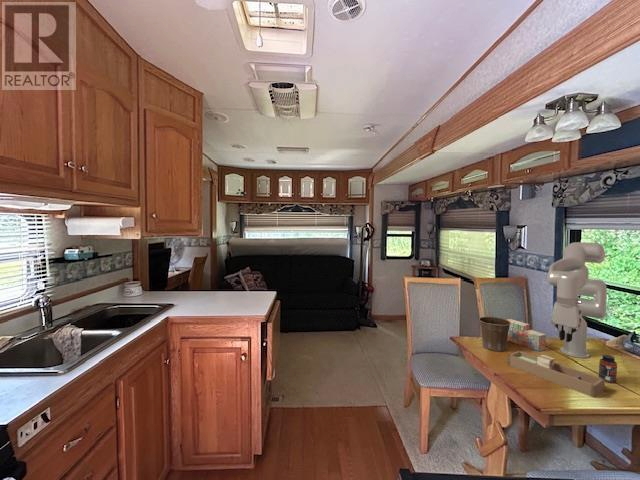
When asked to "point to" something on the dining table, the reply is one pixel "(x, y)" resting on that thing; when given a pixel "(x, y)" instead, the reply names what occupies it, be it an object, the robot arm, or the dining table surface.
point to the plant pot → (494, 333)
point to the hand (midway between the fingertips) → (565, 340)
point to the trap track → (558, 374)
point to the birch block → (545, 361)
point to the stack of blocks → (525, 336)
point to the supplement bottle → (608, 368)
